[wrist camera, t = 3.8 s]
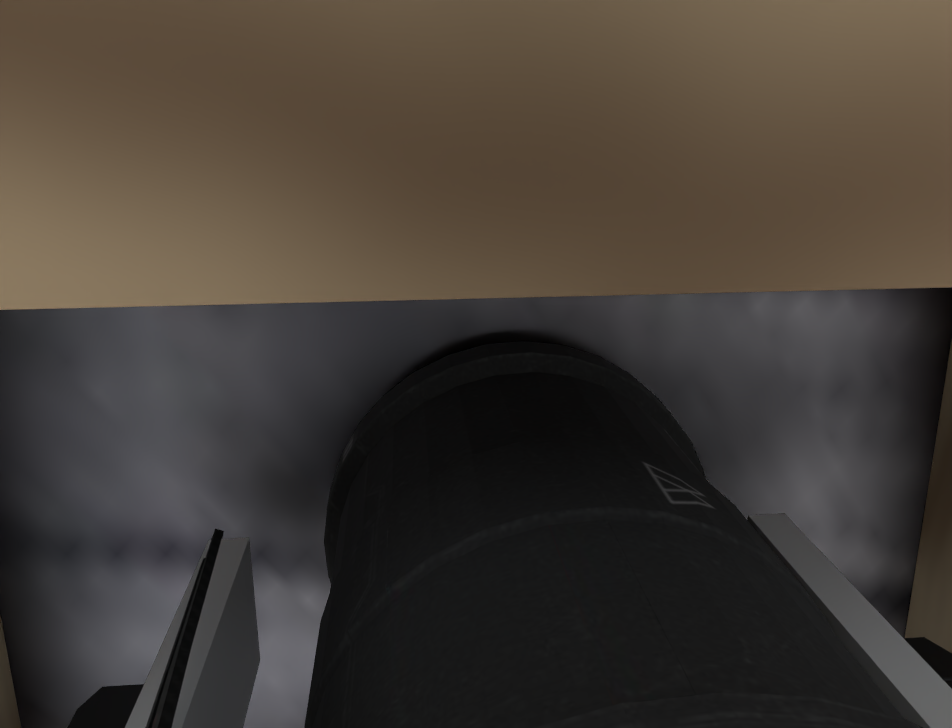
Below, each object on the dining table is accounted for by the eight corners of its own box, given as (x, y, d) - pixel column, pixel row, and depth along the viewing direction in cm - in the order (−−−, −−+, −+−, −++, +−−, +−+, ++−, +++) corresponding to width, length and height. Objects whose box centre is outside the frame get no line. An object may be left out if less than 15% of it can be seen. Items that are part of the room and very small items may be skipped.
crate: (-164, 15, 17) (-847, -98, 8) (1043, 19, 20) (1661, -67, 10) (10, 872, 24) (-253, 1388, 14) (909, 804, 26) (1211, 1213, 16)
